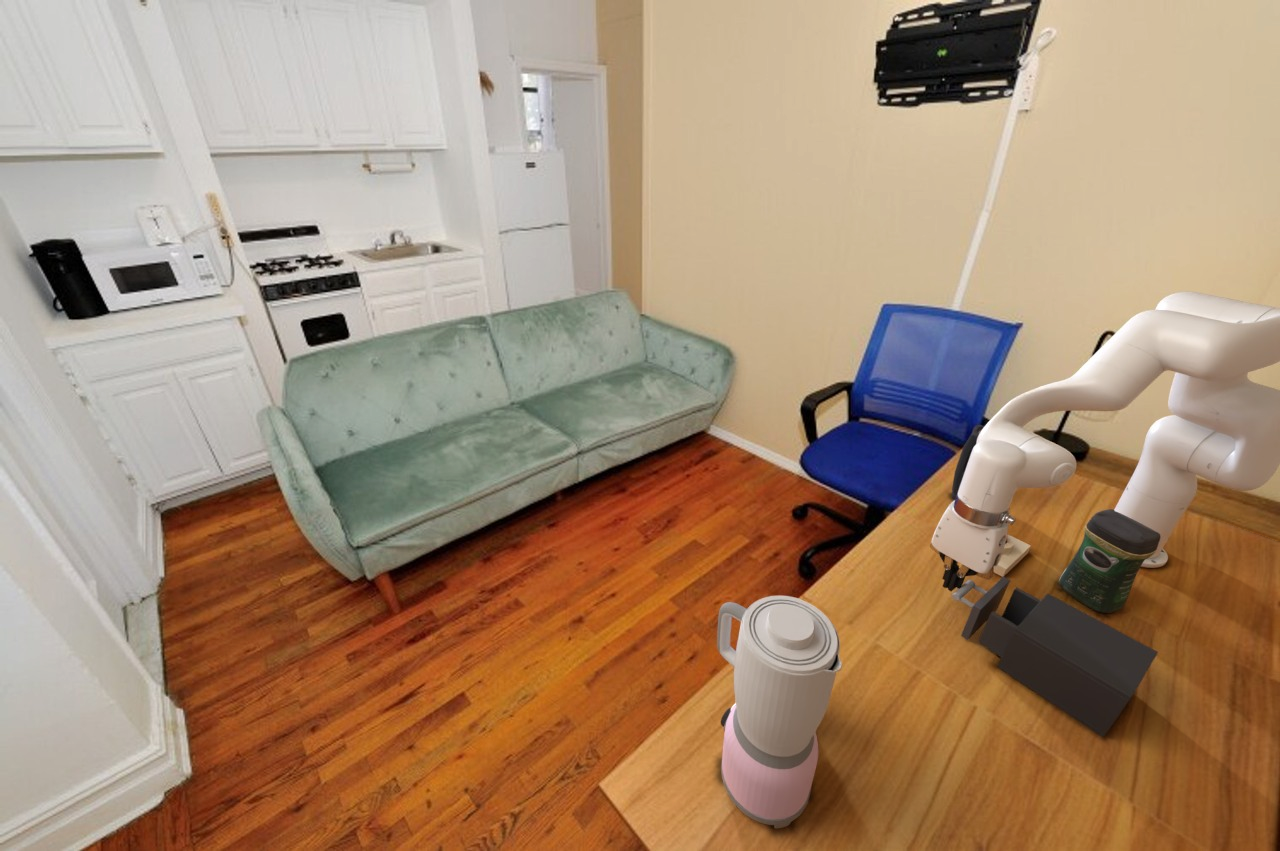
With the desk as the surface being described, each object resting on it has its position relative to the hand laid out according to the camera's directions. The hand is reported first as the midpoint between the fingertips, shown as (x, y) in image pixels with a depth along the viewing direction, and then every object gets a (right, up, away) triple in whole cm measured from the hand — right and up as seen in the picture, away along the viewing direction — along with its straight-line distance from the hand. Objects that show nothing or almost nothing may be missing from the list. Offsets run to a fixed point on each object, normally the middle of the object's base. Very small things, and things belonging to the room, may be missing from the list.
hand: (950, 585), depth 96 cm
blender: (-43, -19, -23) cm, 52 cm away
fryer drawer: (+6, -8, -6) cm, 11 cm away
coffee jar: (+29, -3, +4) cm, 30 cm away
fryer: (+11, -12, -12) cm, 20 cm away
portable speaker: (+24, +12, +32) cm, 42 cm away
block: (+18, +3, +15) cm, 24 cm away
